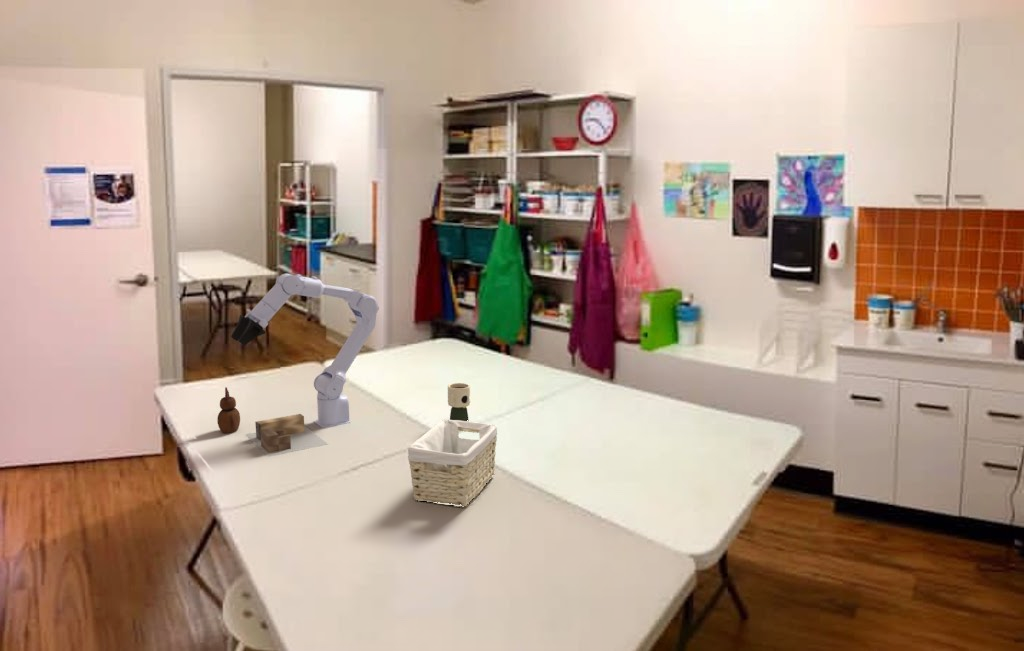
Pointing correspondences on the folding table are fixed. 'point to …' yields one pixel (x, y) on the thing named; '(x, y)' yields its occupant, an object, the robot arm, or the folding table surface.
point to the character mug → (459, 401)
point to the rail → (282, 425)
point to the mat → (294, 442)
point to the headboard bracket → (274, 440)
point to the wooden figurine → (228, 414)
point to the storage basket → (452, 462)
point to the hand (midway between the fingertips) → (237, 341)
